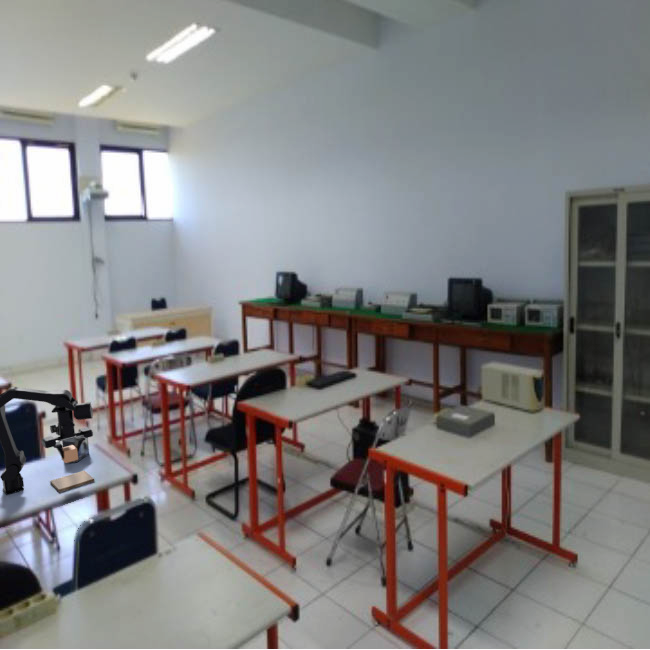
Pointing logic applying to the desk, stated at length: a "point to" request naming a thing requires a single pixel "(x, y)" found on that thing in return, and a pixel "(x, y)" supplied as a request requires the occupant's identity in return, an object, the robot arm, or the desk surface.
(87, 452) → the small box
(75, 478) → the walnut board
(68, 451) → the terracotta cube
